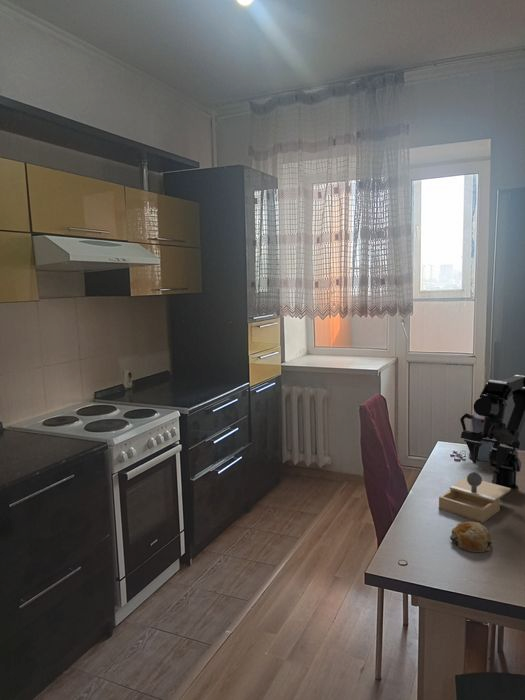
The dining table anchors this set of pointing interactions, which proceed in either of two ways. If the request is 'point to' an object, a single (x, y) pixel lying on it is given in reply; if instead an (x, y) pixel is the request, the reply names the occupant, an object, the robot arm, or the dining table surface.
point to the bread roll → (471, 537)
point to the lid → (480, 488)
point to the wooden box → (468, 506)
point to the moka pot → (478, 427)
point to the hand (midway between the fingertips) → (486, 465)
